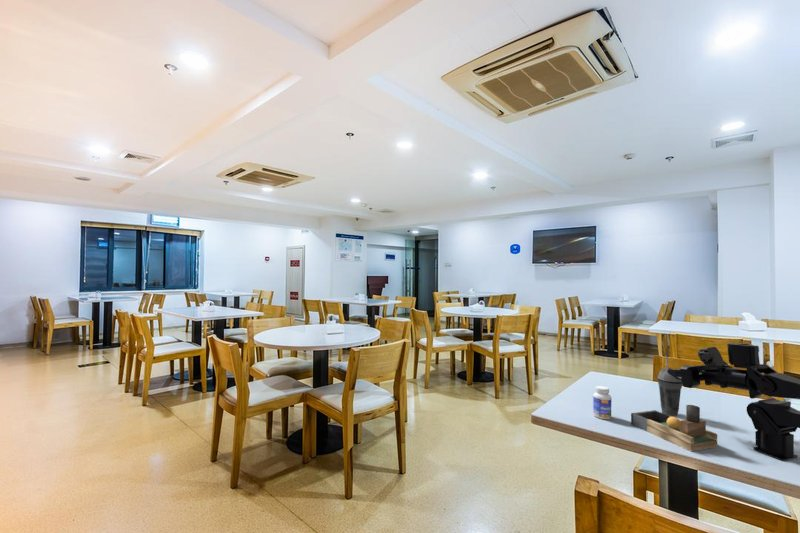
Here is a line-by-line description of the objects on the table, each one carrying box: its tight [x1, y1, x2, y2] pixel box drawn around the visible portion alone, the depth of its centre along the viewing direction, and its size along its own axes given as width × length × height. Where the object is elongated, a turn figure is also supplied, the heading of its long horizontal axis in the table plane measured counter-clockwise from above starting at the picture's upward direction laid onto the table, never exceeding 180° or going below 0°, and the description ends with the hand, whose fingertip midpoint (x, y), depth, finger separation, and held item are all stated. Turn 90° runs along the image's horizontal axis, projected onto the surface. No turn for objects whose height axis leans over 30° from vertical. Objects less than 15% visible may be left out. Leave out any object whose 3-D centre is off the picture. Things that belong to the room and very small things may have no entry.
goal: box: [630, 410, 670, 432], centre depth 117 cm, size 6×10×4 cm, turn 106°
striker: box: [680, 404, 707, 437], centre depth 105 cm, size 3×7×8 cm, turn 106°
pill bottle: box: [592, 385, 612, 420], centre depth 125 cm, size 5×5×10 cm
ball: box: [667, 416, 681, 430], centre depth 110 cm, size 4×4×4 cm
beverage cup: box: [657, 355, 683, 417], centre depth 128 cm, size 7×7×20 cm
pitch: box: [646, 416, 718, 452], centre depth 108 cm, size 13×10×4 cm
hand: (677, 369), depth 124 cm, fingers open, 9 cm apart
